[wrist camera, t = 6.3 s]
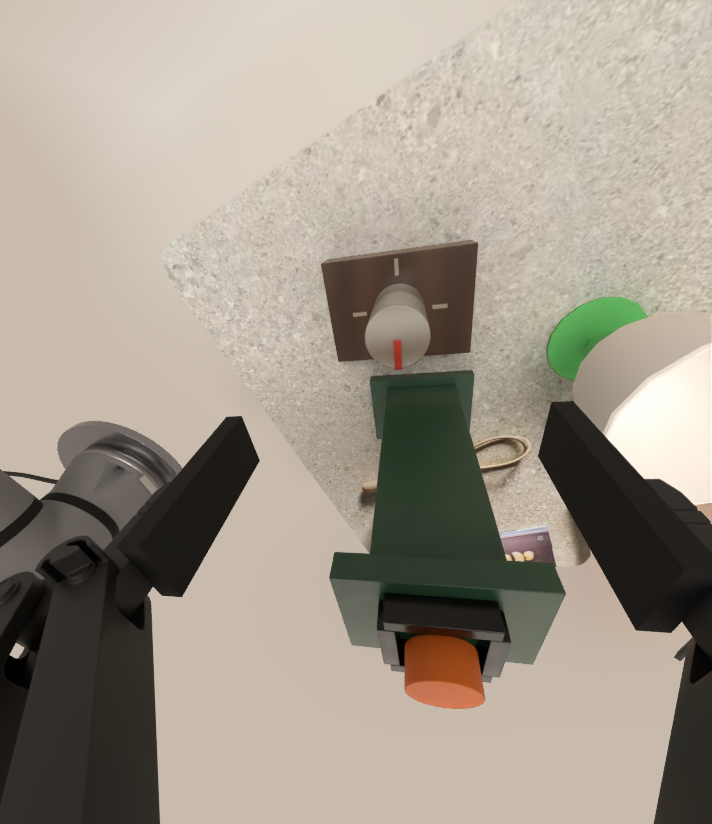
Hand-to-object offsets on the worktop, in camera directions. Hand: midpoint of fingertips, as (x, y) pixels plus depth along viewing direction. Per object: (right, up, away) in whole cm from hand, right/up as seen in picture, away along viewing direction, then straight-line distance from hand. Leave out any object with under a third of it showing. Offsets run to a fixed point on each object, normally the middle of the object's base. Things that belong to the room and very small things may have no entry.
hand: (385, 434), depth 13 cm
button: (+3, -13, +4) cm, 14 cm away
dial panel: (+3, +13, +19) cm, 23 cm away
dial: (+3, +11, +16) cm, 20 cm away
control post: (+7, +2, +25) cm, 26 cm away
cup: (+24, +9, +18) cm, 31 cm away
